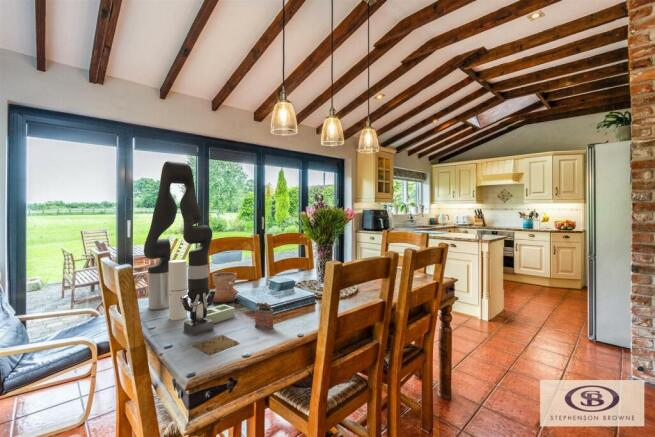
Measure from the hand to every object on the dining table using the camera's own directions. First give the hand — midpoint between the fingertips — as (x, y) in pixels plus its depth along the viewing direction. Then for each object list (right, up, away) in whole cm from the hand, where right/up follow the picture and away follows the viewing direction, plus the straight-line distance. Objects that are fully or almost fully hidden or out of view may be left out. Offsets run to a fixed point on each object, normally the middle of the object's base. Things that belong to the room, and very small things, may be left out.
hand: (198, 318), depth 122 cm
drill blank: (0, -3, 0) cm, 3 cm away
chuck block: (0, -4, 0) cm, 4 cm away
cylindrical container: (-15, -4, +15) cm, 21 cm away
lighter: (+25, -5, +3) cm, 26 cm away
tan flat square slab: (+12, -5, -13) cm, 18 cm away
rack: (+2, -4, +12) cm, 13 cm away
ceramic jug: (-3, -3, +40) cm, 40 cm away
